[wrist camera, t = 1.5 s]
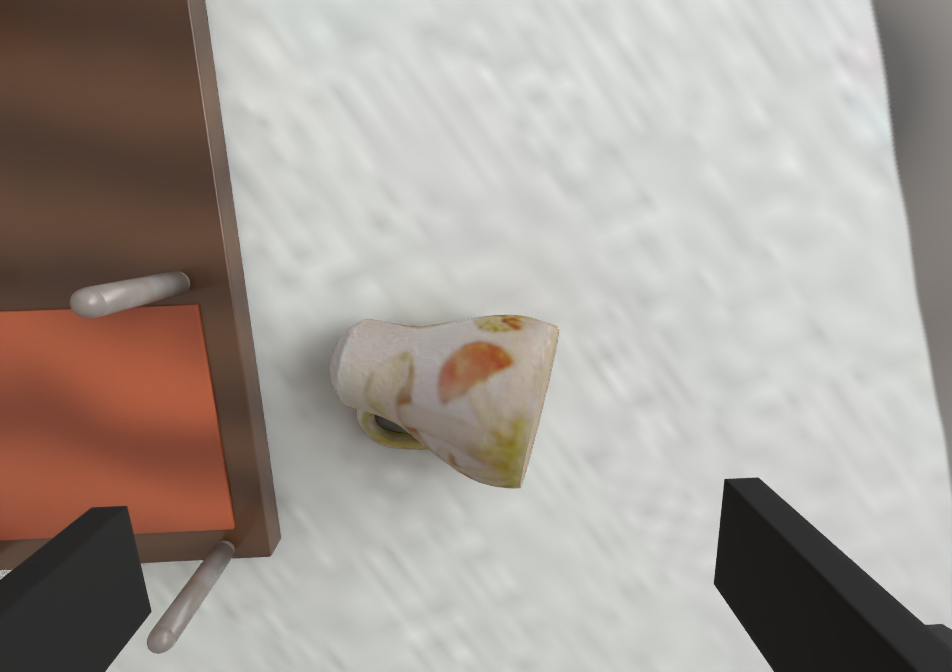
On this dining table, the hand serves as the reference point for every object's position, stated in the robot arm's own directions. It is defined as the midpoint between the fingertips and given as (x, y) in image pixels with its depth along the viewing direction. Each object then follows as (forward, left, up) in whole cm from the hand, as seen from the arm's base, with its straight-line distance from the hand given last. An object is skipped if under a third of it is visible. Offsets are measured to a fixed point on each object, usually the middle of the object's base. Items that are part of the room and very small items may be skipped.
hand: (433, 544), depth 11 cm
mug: (0, 0, -14) cm, 14 cm away
